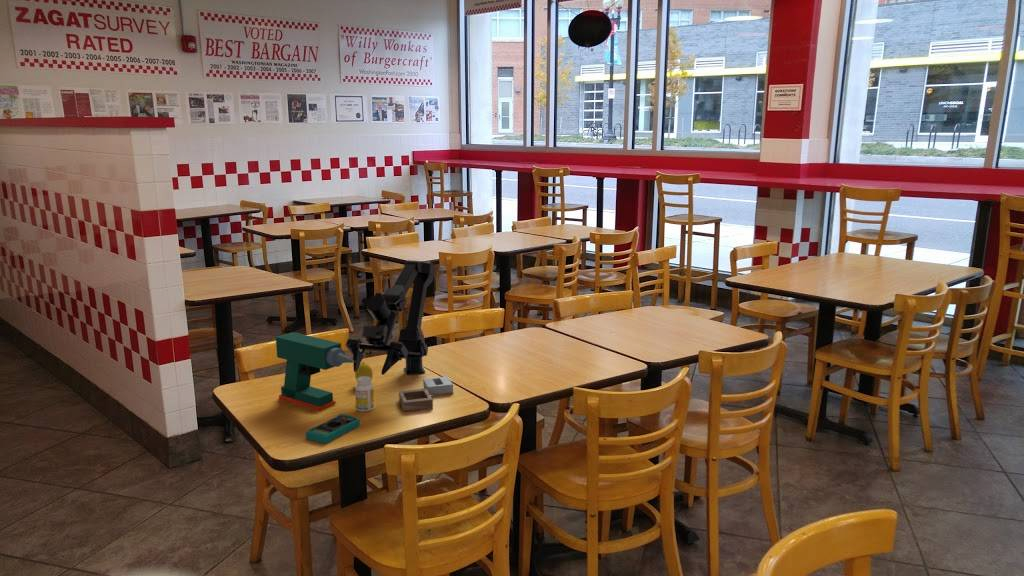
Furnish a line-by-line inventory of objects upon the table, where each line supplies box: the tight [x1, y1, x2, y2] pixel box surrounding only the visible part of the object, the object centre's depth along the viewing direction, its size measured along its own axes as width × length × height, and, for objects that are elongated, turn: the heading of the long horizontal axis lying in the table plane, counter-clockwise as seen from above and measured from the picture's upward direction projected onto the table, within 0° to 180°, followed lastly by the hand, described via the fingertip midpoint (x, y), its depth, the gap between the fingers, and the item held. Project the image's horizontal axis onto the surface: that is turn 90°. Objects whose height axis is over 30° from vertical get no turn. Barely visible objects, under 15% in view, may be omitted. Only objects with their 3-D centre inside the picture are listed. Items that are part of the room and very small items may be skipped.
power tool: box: [275, 331, 355, 412], centre depth 216 cm, size 32×7×20 cm, turn 56°
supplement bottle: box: [354, 376, 375, 413], centre depth 214 cm, size 5×5×10 cm
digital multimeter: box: [305, 413, 361, 445], centre depth 199 cm, size 7×15×3 cm, turn 151°
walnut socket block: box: [398, 388, 434, 413], centre depth 218 cm, size 10×8×3 cm
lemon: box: [354, 361, 373, 381], centre depth 234 cm, size 6×6×8 cm
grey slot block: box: [422, 376, 454, 396], centre depth 230 cm, size 8×8×3 cm
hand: (368, 372), depth 216 cm, fingers open, 9 cm apart
